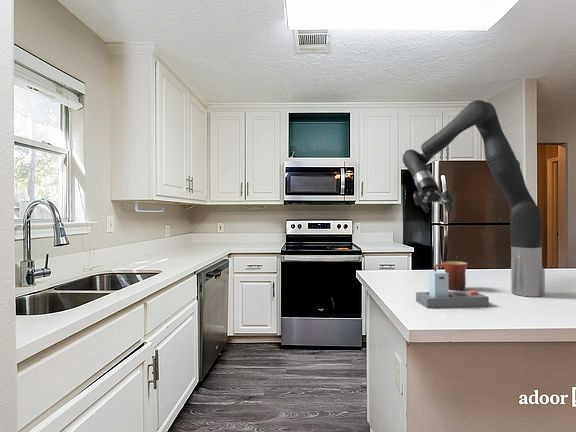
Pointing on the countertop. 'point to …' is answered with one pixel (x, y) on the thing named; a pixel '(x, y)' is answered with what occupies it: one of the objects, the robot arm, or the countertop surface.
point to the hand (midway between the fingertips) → (438, 211)
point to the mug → (455, 274)
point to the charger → (438, 284)
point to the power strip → (453, 299)
